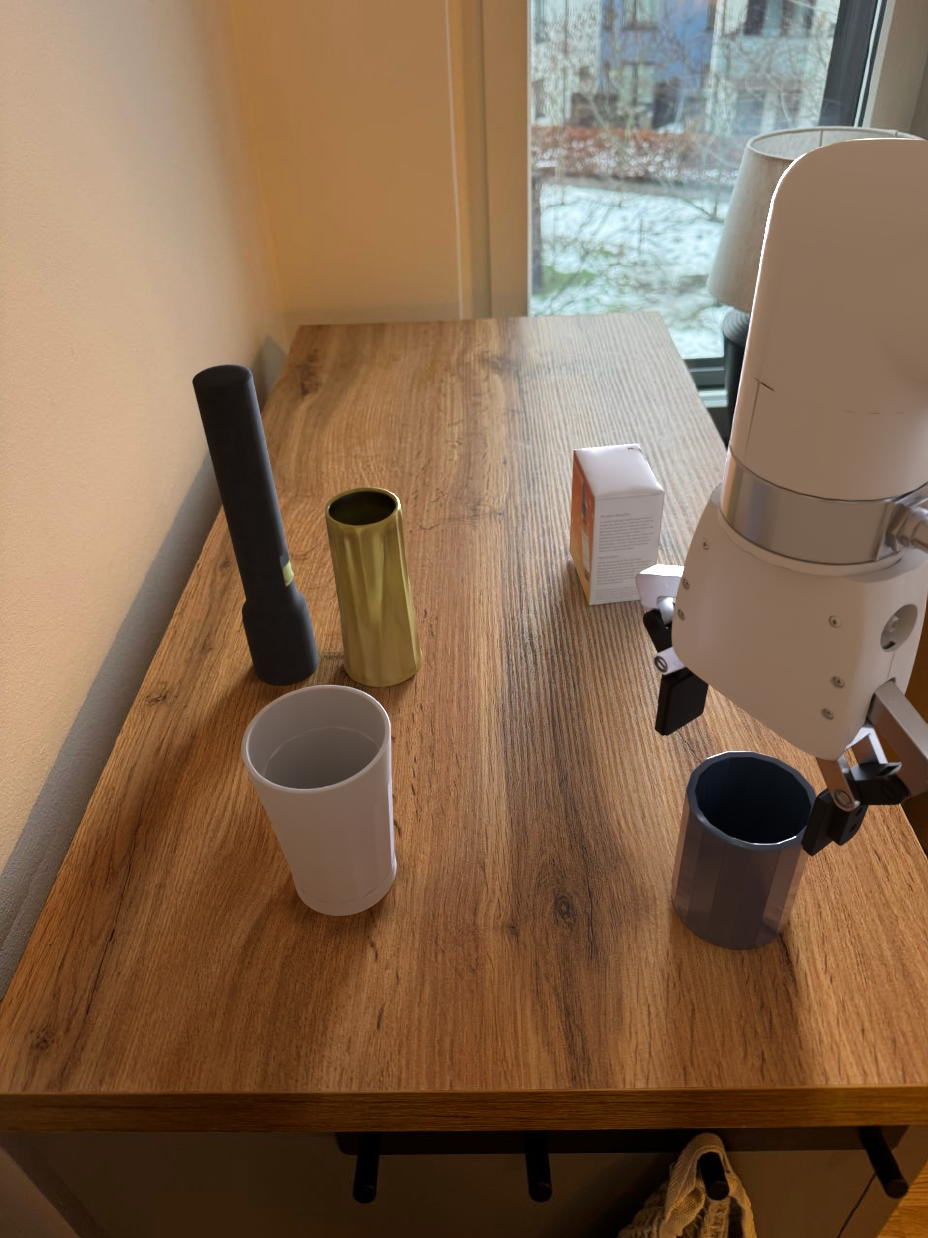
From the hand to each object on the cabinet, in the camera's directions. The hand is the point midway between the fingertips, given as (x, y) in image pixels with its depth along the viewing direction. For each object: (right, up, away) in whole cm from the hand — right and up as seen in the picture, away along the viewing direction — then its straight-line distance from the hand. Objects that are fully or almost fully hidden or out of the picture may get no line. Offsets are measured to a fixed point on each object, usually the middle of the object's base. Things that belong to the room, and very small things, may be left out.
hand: (747, 776), depth 47 cm
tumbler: (+1, -8, +7) cm, 11 cm away
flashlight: (-29, +4, +25) cm, 38 cm away
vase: (-21, +5, +24) cm, 32 cm away
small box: (-2, +12, +32) cm, 34 cm away
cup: (-22, -8, +9) cm, 25 cm away
